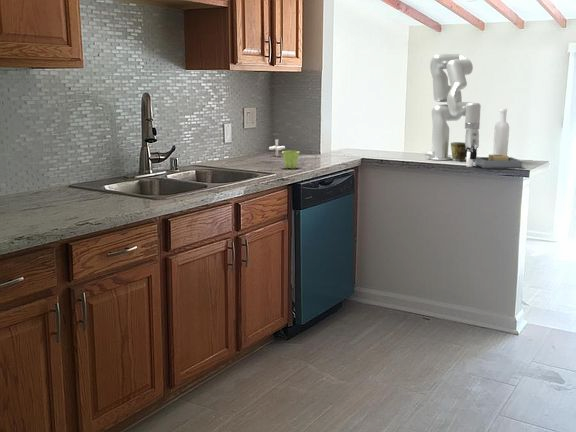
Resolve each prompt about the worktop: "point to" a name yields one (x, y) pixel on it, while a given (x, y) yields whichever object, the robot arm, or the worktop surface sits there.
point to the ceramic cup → (458, 151)
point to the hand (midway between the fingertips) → (470, 158)
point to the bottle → (501, 135)
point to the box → (498, 162)
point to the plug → (469, 161)
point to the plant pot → (290, 158)
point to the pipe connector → (276, 147)
